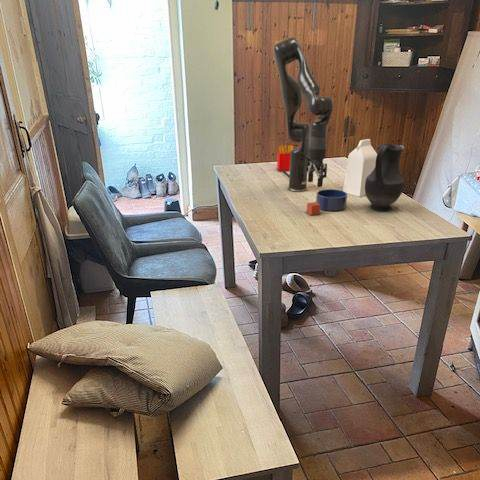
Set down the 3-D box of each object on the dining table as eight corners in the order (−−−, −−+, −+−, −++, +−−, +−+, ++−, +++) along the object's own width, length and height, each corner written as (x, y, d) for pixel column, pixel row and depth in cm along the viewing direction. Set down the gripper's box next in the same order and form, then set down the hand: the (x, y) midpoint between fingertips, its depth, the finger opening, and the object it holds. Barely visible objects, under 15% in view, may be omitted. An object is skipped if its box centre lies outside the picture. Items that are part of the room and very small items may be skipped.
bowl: (310, 204, 241) (311, 191, 238) (335, 201, 246) (336, 188, 243) (325, 213, 230) (327, 199, 227) (351, 209, 235) (353, 195, 231)
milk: (359, 196, 252) (365, 143, 239) (342, 191, 260) (348, 139, 247) (375, 192, 258) (382, 140, 245) (358, 187, 266) (364, 136, 253)
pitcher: (404, 206, 238) (415, 141, 222) (389, 218, 223) (400, 149, 208) (370, 200, 246) (378, 137, 231) (353, 212, 231) (360, 145, 216)
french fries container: (276, 168, 302) (277, 144, 295) (291, 168, 303) (292, 144, 296) (279, 171, 296) (280, 147, 289) (294, 171, 297) (295, 146, 290)
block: (306, 212, 231) (307, 203, 229) (315, 211, 232) (315, 202, 230) (311, 215, 227) (311, 205, 225) (319, 214, 229) (320, 204, 227)
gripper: (302, 144, 219) (300, 181, 227) (318, 150, 208) (315, 189, 216) (317, 143, 222) (314, 179, 230) (333, 149, 210) (330, 187, 219)
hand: (314, 184), depth 223 cm, fingers open, 8 cm apart
